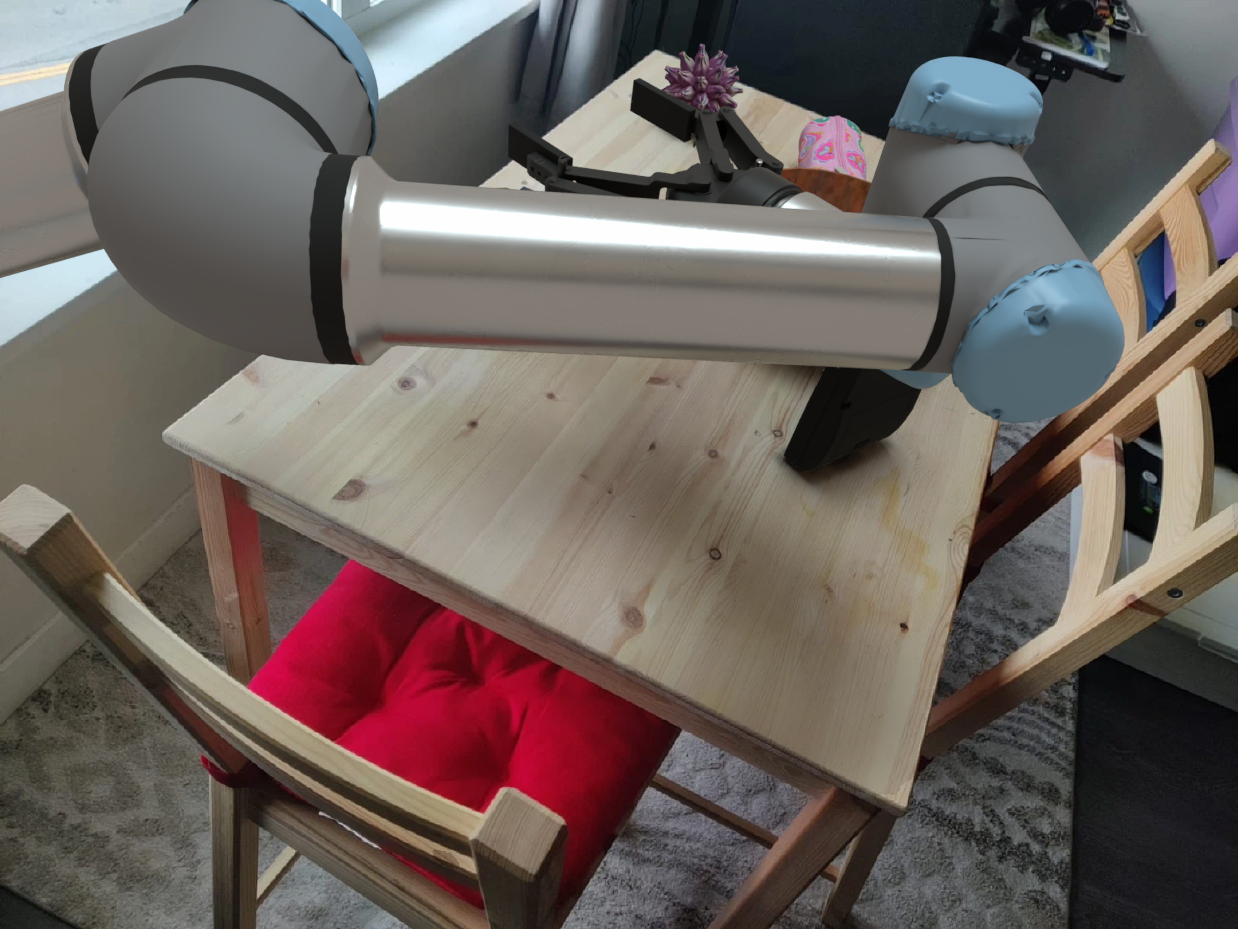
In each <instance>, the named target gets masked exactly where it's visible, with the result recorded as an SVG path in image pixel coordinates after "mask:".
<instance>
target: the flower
mask: <svg viewBox="0 0 1238 929" xmlns="http://www.w3.org/2000/svg"><path fill="white" fill-rule="evenodd" d="M678 57H679V59H680V60H679V67H675V66H673V67H671V66H669V65H666V66H665V68H664V72H666V73H665V75H664V79H665V80H666V81H667V82H668V83H669V85H666V86H665V87H663V88H662V89H661V88H660V89H661V90H662V91H664V92H666V93H668V94H669V95H671V96H673V97H675V98H677V99H679V100H682V101H684V102H685V103H687V104H689V105H691V106H693V107H694V108H696V109H698V110H701V109H708V110H711V111H712V112H713V113H719V108H720V107H723V106H727V107H730V108H732V109H733V110H734V111H735V112H736V113H737V110H736V109H737V108H738V102H737V101H734V97H735V96H736V95H738V94H743V93H744V88H742V87H741V88H740V87H738V86H736V85H735V83H737V82H738V81H739V80H740V77H739V75H735V74H736V73H738V72H739V67H738V65H735V66H733V67H726V66H727V65H726V61H727V58H728V54H725V52H723V50H720V49H719V50H718V51H717V53H716V54H715V55H714V56H713V57H711V58H710V59H709V55H708V52H707V51H706V46H705V44H703V43H700V44H699V48H698V52H697V53H696V55H695V56H694V59H693V58H692V57H689V56H688V55H687V54H686V52H685V51H681V52H679V53H678Z"/></svg>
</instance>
